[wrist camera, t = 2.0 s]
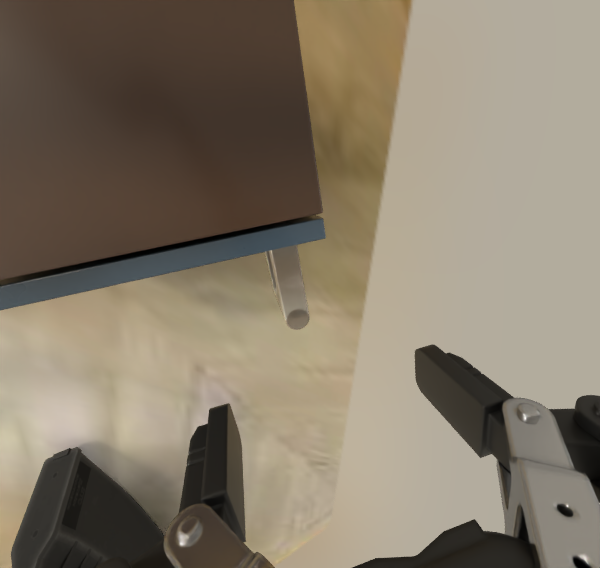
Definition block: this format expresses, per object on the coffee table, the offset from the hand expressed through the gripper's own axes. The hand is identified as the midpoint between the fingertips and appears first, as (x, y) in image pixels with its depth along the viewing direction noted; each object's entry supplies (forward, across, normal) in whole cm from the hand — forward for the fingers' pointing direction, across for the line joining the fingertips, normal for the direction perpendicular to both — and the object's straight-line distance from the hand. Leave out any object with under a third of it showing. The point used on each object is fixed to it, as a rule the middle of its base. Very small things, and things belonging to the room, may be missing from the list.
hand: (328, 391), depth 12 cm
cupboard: (+18, +6, -12) cm, 22 cm away
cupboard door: (+18, +6, -3) cm, 19 cm away
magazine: (+18, +22, +28) cm, 40 cm away
